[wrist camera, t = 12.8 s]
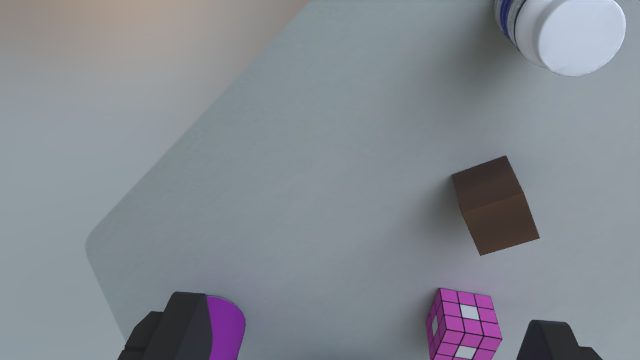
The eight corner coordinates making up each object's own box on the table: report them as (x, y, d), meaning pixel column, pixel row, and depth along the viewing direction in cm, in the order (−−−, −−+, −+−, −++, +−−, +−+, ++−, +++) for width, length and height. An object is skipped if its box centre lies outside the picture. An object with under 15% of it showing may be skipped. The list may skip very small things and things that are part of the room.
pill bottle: (591, -10, 35) (660, 26, 26) (530, 53, 37) (575, 104, 29) (534, -60, 33) (588, -38, 25) (475, 10, 36) (506, 50, 28)
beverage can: (213, 281, 54) (177, 373, 44) (260, 319, 57) (236, 414, 47) (172, 308, 57) (129, 400, 47) (218, 343, 60) (187, 437, 50)
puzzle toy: (491, 296, 51) (503, 339, 47) (474, 330, 55) (483, 374, 50) (439, 287, 52) (446, 329, 47) (425, 322, 55) (430, 365, 50)
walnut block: (451, 174, 44) (461, 213, 39) (505, 155, 42) (523, 192, 37) (468, 214, 46) (480, 256, 41) (521, 197, 44) (540, 238, 39)
